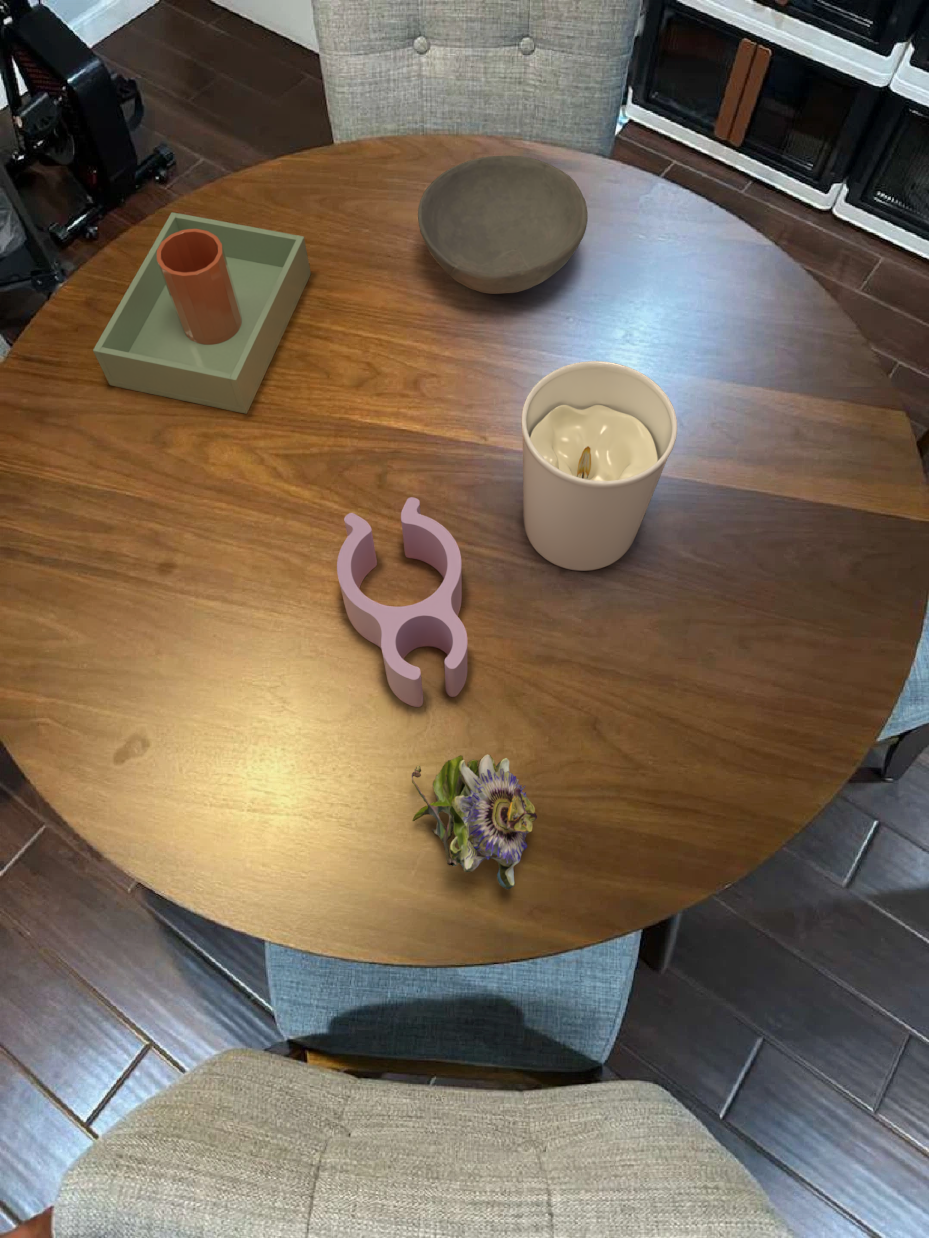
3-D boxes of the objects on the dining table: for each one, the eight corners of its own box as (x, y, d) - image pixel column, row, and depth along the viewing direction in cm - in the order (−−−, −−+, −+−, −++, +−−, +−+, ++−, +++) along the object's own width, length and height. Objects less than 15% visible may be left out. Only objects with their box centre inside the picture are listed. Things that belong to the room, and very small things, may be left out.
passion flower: (511, 847, 96) (546, 896, 85) (402, 853, 94) (423, 904, 82) (514, 737, 95) (550, 771, 83) (404, 740, 92) (425, 776, 81)
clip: (495, 684, 98) (497, 656, 92) (377, 718, 97) (371, 692, 91) (439, 526, 107) (437, 490, 101) (330, 555, 105) (321, 520, 99)
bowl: (585, 323, 121) (592, 273, 114) (417, 322, 121) (414, 273, 114) (577, 205, 130) (583, 153, 123) (422, 205, 131) (420, 152, 123)
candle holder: (505, 475, 110) (511, 366, 94) (632, 464, 111) (660, 354, 95) (522, 587, 103) (532, 491, 87) (658, 574, 104) (692, 476, 88)
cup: (172, 338, 118) (146, 268, 109) (195, 295, 122) (171, 224, 112) (229, 350, 118) (207, 280, 108) (250, 306, 121) (231, 235, 111)
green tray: (109, 385, 116) (92, 350, 111) (184, 249, 127) (171, 211, 122) (247, 414, 114) (236, 380, 109) (311, 274, 125) (304, 236, 119)
